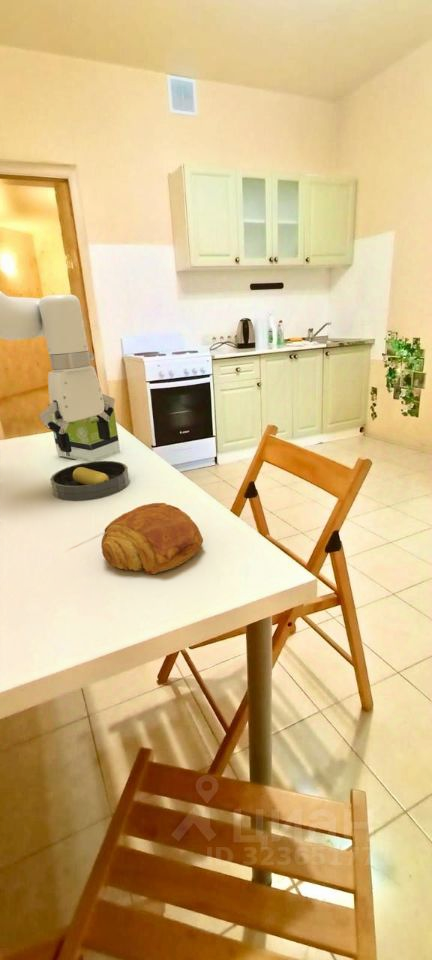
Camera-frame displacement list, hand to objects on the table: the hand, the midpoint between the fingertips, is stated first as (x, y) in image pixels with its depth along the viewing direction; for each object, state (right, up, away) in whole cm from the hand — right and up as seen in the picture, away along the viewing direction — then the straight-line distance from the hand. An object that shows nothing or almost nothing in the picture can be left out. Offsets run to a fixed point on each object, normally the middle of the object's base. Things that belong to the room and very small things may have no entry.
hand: (86, 445), depth 94 cm
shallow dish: (0, -9, +4) cm, 10 cm away
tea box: (-7, -1, +27) cm, 28 cm away
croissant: (+18, -19, -25) cm, 36 cm away
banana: (0, -9, +3) cm, 9 cm away
